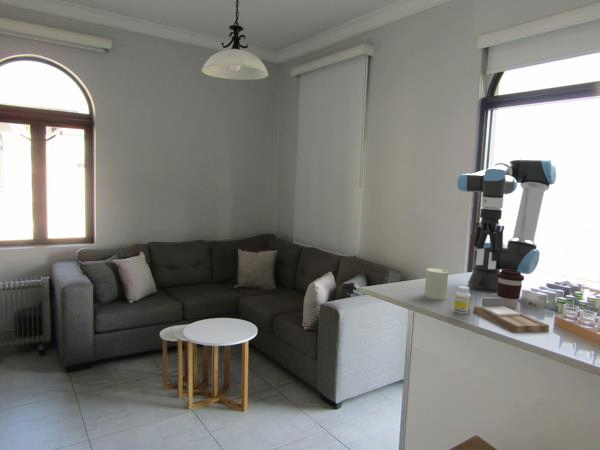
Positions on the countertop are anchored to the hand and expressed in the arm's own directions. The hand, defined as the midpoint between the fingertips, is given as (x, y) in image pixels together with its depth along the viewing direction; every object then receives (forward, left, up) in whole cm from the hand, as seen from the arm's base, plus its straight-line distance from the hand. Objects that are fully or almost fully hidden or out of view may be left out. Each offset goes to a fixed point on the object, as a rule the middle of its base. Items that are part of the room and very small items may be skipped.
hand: (485, 266), depth 166 cm
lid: (0, +10, -15) cm, 18 cm away
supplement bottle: (+11, +3, -17) cm, 21 cm away
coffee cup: (-14, -3, -17) cm, 22 cm away
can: (+10, -18, -17) cm, 27 cm away
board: (-1, +14, -17) cm, 22 cm away
